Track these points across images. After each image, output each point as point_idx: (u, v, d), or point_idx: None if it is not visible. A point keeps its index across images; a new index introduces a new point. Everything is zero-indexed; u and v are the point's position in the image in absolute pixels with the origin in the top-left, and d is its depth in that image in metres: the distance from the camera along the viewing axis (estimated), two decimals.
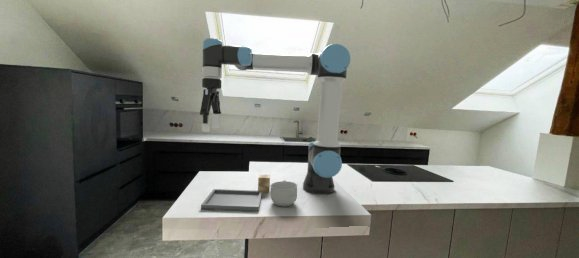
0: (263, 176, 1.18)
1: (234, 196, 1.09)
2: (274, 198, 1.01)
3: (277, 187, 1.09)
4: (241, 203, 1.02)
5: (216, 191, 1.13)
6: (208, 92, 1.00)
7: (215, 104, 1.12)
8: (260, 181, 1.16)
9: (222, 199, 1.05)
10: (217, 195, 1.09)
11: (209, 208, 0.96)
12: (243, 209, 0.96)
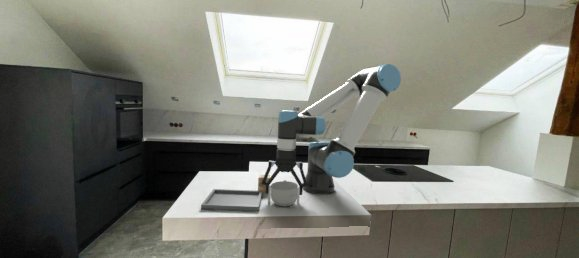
0: (263, 176, 1.18)
1: (234, 196, 1.09)
2: (274, 198, 1.01)
3: (277, 187, 1.09)
4: (241, 203, 1.02)
5: (216, 191, 1.13)
6: (268, 164, 1.04)
7: None
8: (260, 181, 1.16)
9: (222, 199, 1.05)
10: (217, 195, 1.09)
11: (209, 208, 0.96)
12: (243, 209, 0.96)
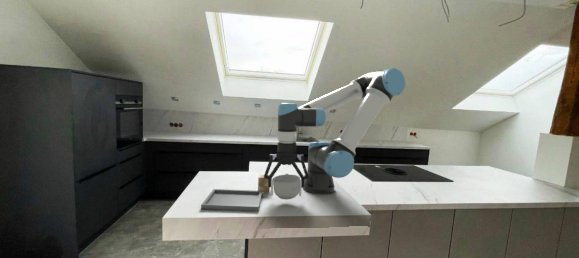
0: (263, 176, 1.18)
1: (234, 196, 1.09)
2: (277, 191, 1.01)
3: (279, 180, 1.09)
4: (241, 203, 1.02)
5: (216, 191, 1.13)
6: None
7: (295, 168, 1.05)
8: (260, 181, 1.16)
9: (222, 199, 1.05)
10: (217, 195, 1.09)
11: (209, 208, 0.96)
12: (243, 209, 0.96)
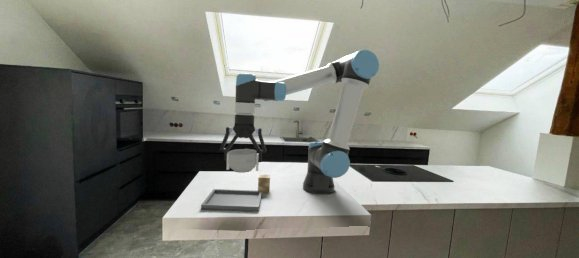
0: (263, 176, 1.18)
1: (234, 196, 1.09)
2: (231, 163, 0.98)
3: None
4: (241, 203, 1.02)
5: (216, 191, 1.13)
6: (226, 129, 1.02)
7: (252, 142, 1.03)
8: (260, 181, 1.16)
9: (222, 199, 1.05)
10: (217, 195, 1.09)
11: (209, 208, 0.96)
12: (243, 209, 0.96)
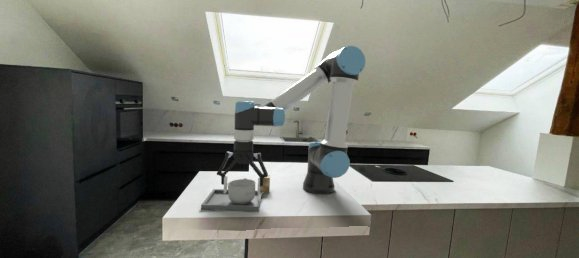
0: None
1: None
2: (230, 196, 1.00)
3: (236, 185, 1.07)
4: None
5: (216, 191, 1.13)
6: (225, 155, 1.02)
7: None
8: None
9: (222, 199, 1.05)
10: (217, 195, 1.09)
11: (209, 208, 0.96)
12: (243, 209, 0.96)
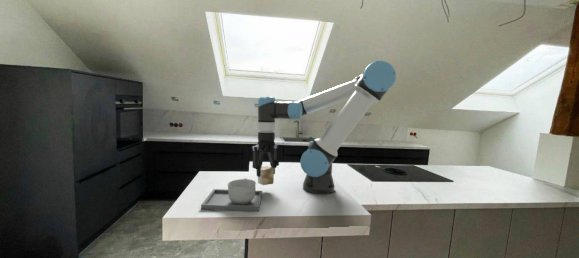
0: (266, 168, 1.17)
1: None
2: (230, 196, 1.00)
3: (236, 185, 1.07)
4: None
5: (216, 191, 1.13)
6: (254, 149, 1.13)
7: (270, 156, 1.19)
8: (265, 173, 1.16)
9: (222, 199, 1.05)
10: (217, 195, 1.09)
11: (209, 208, 0.96)
12: (243, 209, 0.96)
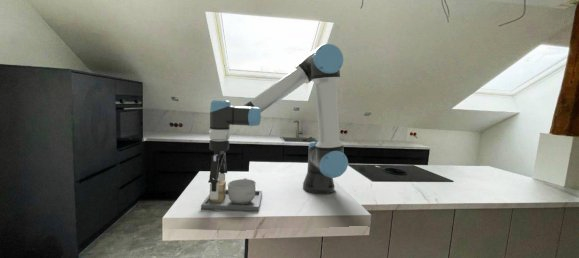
0: (220, 183, 1.04)
1: None
2: (230, 196, 1.00)
3: (236, 185, 1.07)
4: None
5: None
6: (216, 159, 0.96)
7: (222, 164, 1.07)
8: (223, 189, 1.03)
9: None
10: None
11: (209, 208, 0.96)
12: (243, 209, 0.96)
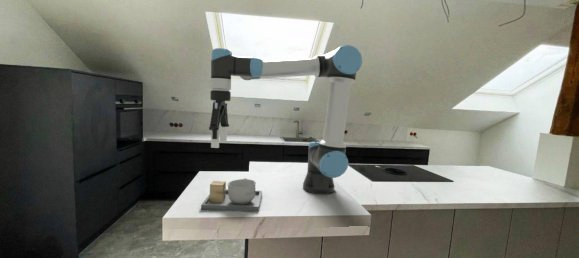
0: (220, 183, 1.04)
1: None
2: (230, 196, 1.00)
3: (236, 185, 1.07)
4: None
5: None
6: (218, 106, 0.95)
7: (223, 117, 1.06)
8: (223, 189, 1.03)
9: None
10: None
11: (209, 208, 0.96)
12: (243, 209, 0.96)
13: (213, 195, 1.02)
